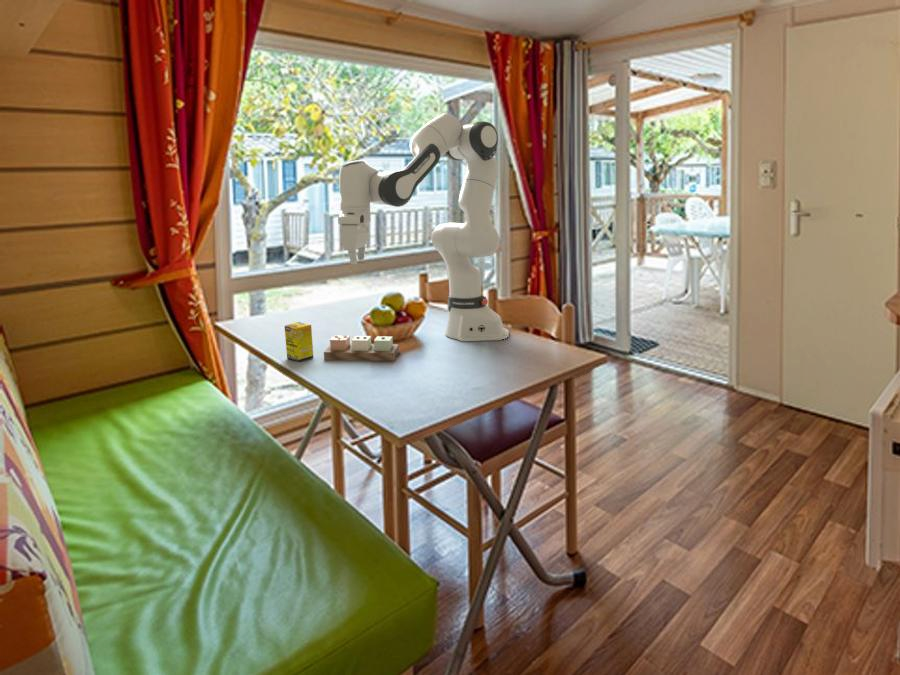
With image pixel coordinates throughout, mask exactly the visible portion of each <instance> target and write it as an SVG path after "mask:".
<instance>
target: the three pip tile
mask: <svg viewBox="0 0 900 675" xmlns="http://www.w3.org/2000/svg"><path fill="white" fill-rule="evenodd" d="M350 336H351V335H333V336H332V337H331V338H330V339H329V346H330V348H331V350H348V349H349V347H350V343H351V341H350V340H351V338H350Z"/></svg>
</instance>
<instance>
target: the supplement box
mask: <svg viewBox="0 0 900 675" xmlns="http://www.w3.org/2000/svg"><path fill="white" fill-rule="evenodd" d="M312 332H313V331H312V324H309V323H303V322H301V321H297V322H294V323H293V322H292V323H289V324H286V325H284V338H285V347H286V348H285V349H286V359H287V360H291V361H293V362H294V361H295V362H298V363H301V362H304V361H307V360H310V359H313V358H314V345H313V333H312Z"/></svg>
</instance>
